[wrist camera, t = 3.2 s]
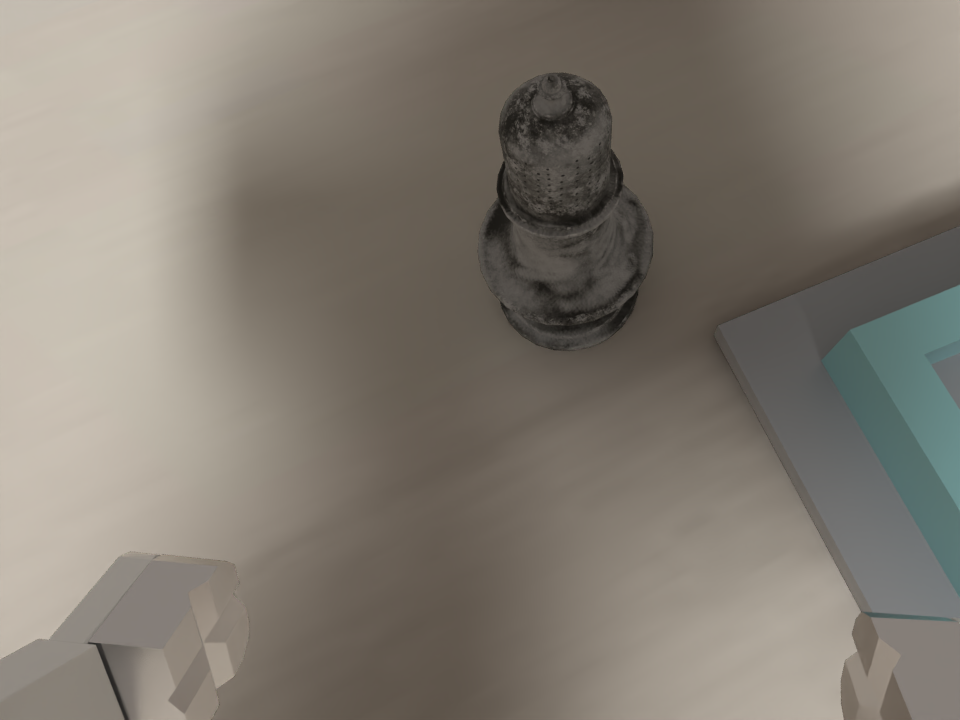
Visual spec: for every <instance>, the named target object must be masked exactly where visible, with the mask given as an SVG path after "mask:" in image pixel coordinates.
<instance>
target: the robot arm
mask: <svg viewBox="0 0 960 720" xmlns="http://www.w3.org/2000/svg"><path fill="white" fill-rule="evenodd" d="M239 583H240V581H239V578H238V574H237V571H236V568H235V565H234V564H232V563H230V562H227V561H220V560H211V559H201V558H192V557H183V556H173V555H164V554H162V555H156V554H147V553H138V552H128V553H126V554H124V555H122V556H120V557H118V558H117V560H116V561H115V562H114V563H113V564H112V565H111V567H110V568H109V569H108V570H107V571H106V573H105V574H104V575H103V576H102V577H101V578H100V580H99V581H98V582H97V583H96V584H95V586H94V587H93V588H92V589H91V590H90V591H89V593H88V594H87V595H86V596H85V597H84V599H83V600H82V601H81V602H80V603H79V604H78V606H77V607H76V608H75V609H74V610H73V611H72V613H71V614H70V615H69V616H68V617H67V619H66V620H65V621H64V622H63V623H62V624H61V626H60V627H59V628H58V629H57V630H56V632H55V633H54V634H53V635H52V636H51V637H50V639H49V640H45V639H37V640H35V641H34V642H32V643H30V644H28V645H26V646H24V647H23V648H21V649H19V650H17V651H15V652H13V653H12V654H10V655H8V656H6V657H4V658H3V659H1V660H0V720H212V718H213V716H214V714H215V712H216V710H217V708H218V707H219V705H220V704H219V699H218V695H217V690H216V689H217V688H219V687H220V686H222V685H223V684H224V683H226V682H227V681H229V680H230V679H231V678H233V677H234V676H235V675H236V673H237V671H238V669H239V667H240V665H241V663H242V661H243V659H244V655H245V651H246V647H247V643H248V639H249V617H248V613H247V609H246V606H245V605H244V604H243V603H242V602H241V601H240V600H239V599H238V598H237V597H236V596H235V595H234V592H235V590H236V588H237V587H238V585H239ZM852 637H853V640H854V643H855V645H856V648H857V652H856V653H855V654H853V655H852V656H850V657H849V658H848V659H846V660H845V663H844V667H843V672H842V677H841V706H842V712H843V718H844V720H960V618H950V619H949V618H946V617H933V616H919V615H905V614H891V613H877V612H861V613H860V614H859V616H858V617H857V618H856V620H855V624H854V627H853V631H852Z"/></svg>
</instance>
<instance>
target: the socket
mask: <svg viewBox="0 0 960 720" xmlns="http://www.w3.org/2000/svg"><path fill="white" fill-rule="evenodd" d="M714 337H715V339H716V341H717V342H718V344H719V346H720V348H721V350H722V352H723V354H724V356H725V357H726V359H727V361H728V363H729V365H730V367H731V369H732V370H733V372H734V374H735V376H736V378H737V380H738V382H739V384H740V385H741V387H742V389H743V391H744V393H745V395H746V397H747V399H748V400H749V402H750V404H751V406H752V408H753V410H754V412H755V414H756V415H757V417H758V419H759V421H760V423H761V425H762V427H763V428H764V430H765V432H766V434H767V436H768V438H769V440H770V442H771V443H772V445H773V447H774V449H775V451H776V453H777V455H778V457H779V458H780V460H781V462H782V464H783V466H784V468H785V470H786V471H787V473H788V475H789V477H790V479H791V481H792V483H793V485H794V486H795V488H796V490H797V492H798V494H799V496H800V498H801V500H802V501H803V503H804V505H805V507H806V509H807V511H808V513H809V514H810V516H811V518H812V520H813V522H814V524H815V526H816V528H817V529H818V531H819V533H820V535H821V537H822V539H823V541H824V543H825V544H826V546H827V548H828V550H829V552H830V554H831V556H832V557H833V559H834V561H835V563H836V565H837V567H838V569H839V571H840V572H841V574H842V576H843V578H844V580H845V582H846V584H847V586H848V587H849V589H850V591H851V593H852V595H853V597H854V599H855V600H856V602H857V604H858V606H859V608H860V610H861V612H877V613H891V614H905V615H919V616H933V617H946V618H949V619H950V618H960V226H958V227H955V228H953V229H951V230H948V231H946V232H943V233H941V234H938V235H936V236H934V237H931V238H929V239H926V240H924V241H922V242H919V243H917V244H914V245H912V246H909V247H907V248H905V249H902V250H900V251H897V252H895V253H892V254H890V255H888V256H885V257H883V258H880V259H878V260H875V261H873V262H871V263H868V264H866V265H863V266H861V267H858V268H856V269H854V270H851V271H849V272H846V273H844V274H841V275H839V276H837V277H834V278H832V279H829V280H827V281H824V282H822V283H820V284H817V285H815V286H812V287H810V288H807V289H805V290H803V291H800V292H798V293H795V294H793V295H791V296H788V297H786V298H783V299H781V300H778V301H776V302H774V303H771V304H769V305H766V306H764V307H761V308H759V309H757V310H754V311H752V312H749V313H747V314H744V315H742V316H740V317H737V318H735V319H732V320H730V321H727V322H725V323H723V324H720V325H718V326H717V329H716V331H715V333H714Z"/></svg>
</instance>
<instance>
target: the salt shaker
mask: <svg viewBox="0 0 960 720" xmlns="http://www.w3.org/2000/svg"><path fill="white" fill-rule="evenodd" d="M611 132H612V116H611V113H610V109H609V106H608V103H607V100H606V98H605V97H604V95H603V94H602V92H601V91H600V90H599V89H598V88H597V87H596V86H595V85H593V84H592V83H591V82H590V81H587V80H585V79H583V78H581V77H579V76H576V75H572V74H567V73H549V74H544V75H540V76H537V77H535V78H533V79H531V80H529V81H527V82H525V83H524V84H522V85H521V86H520V87H519V88H517V89H516V90H515V91H514V92H513V93H512V94H511V95H510V97H509V98H508V99H507V101H506V102H505V104H504V107H503V109H502V112H501V116H500V123H499V136H500V141H501V146H502V151H503V156H504V162H503V164H502V167H501V169H500V172H499V174H498V181H497V193H498V198H497V200H496V201H495V202H494V204H493V205H492V206H491V208H490V209H489V210H488V212H487V214H486V217H485V219H484V222H483V224H482V227H481V229H480V233H479V243H478V256H479V262H480V267H481V272H482V274H483V276H484V278H485V280H486V282H487V284H488V286H489V288H490V290H491V291H492V293H493V294H494V295H495V296H496V297H497V298H498V299H499V300H500V302H501V307H502V309H503V311H504V313H505V315H506V317H507V319H508V321H509V323H510V324H511V325H512V326H513V327H514V328H515V329H516V330H517V331H518V332H519V333H520V334H521V335H522V336H523V337H525V338H526V339H528V340H530V341H531V342H533V343H535V344H536V345H539V346H543V347H546V348H549V349H553V350H568V351H574V350H579V349H584V348H588V347H592V346H594V345H596V344H598V343H600V342H602V341H604V340H606V339H608V338H610V337H611V336H612V335H613V334H614V333H615V332H617V331H618V330H619V329H620V328H621V327H622V326H623V325H624V323H625V322H626V320H627V319H628V317H629V316H630V314H631V313H632V311H633V308H634V305H635V301H636V298H637V295H638V288H639V286H640V285H641V283H642V282H643V280H644V279H645V277H646V275H647V271H648V268H649V265H650V262H651V259H652V256H653V232H652V228H651V224H650V221H649V217H648V214H647V212H646V211H645V209H644V207H643V206H642V204H641V203H640V201H639V199H638V198H637V196H636V195H635V194H633V193H632V192H631V191H630V190H629V189H628V188H627V187H626V186H625V185H623V172H622V169H621V165H620V161H619V160H618V158H617V157H616V155H615V154H614V152H613V151H612V149H611Z"/></svg>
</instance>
